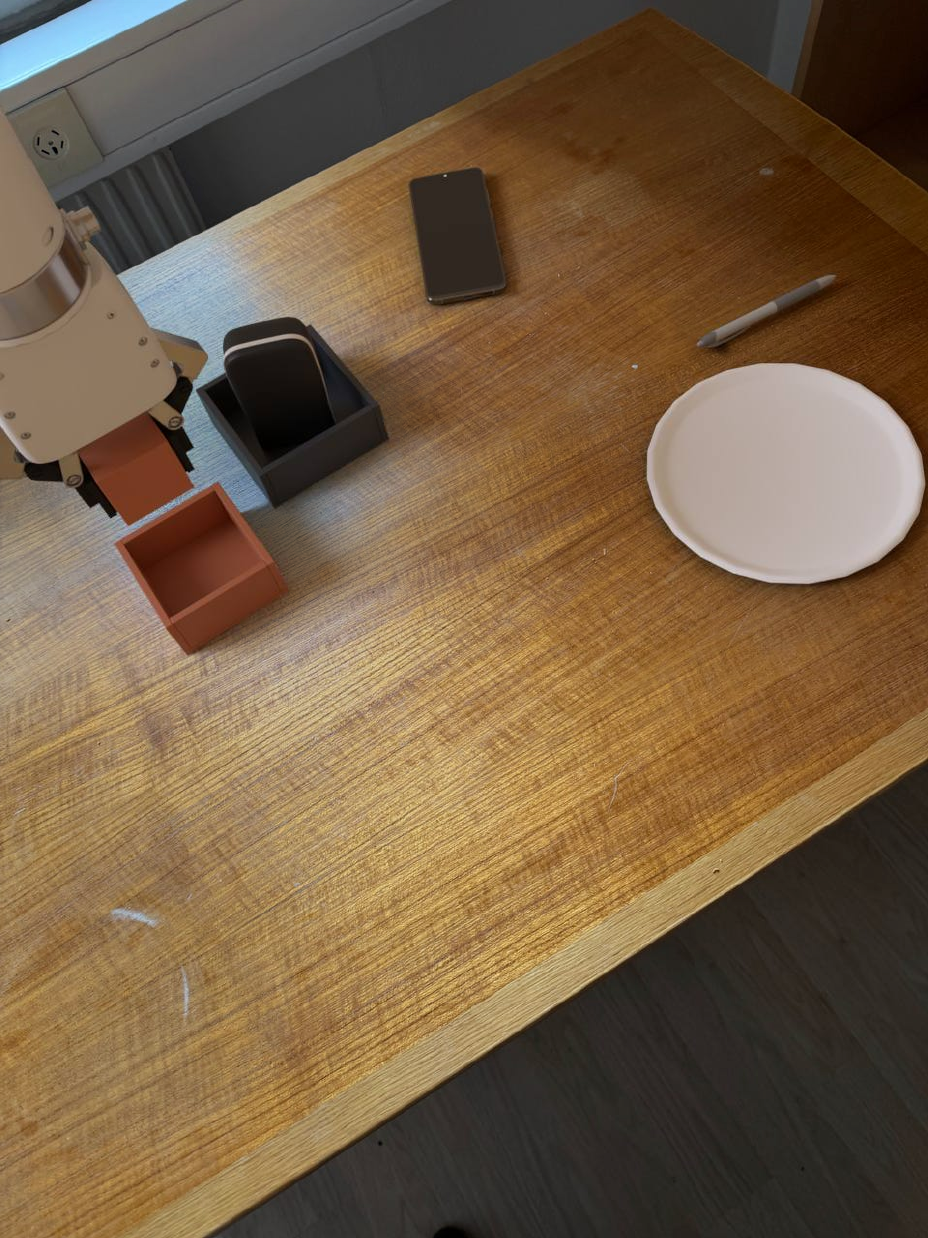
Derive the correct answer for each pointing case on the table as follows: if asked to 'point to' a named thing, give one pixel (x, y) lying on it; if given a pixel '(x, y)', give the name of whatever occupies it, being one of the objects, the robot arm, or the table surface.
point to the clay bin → (202, 567)
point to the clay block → (136, 468)
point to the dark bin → (311, 460)
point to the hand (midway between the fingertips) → (143, 478)
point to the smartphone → (456, 236)
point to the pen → (763, 312)
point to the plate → (785, 473)
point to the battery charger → (278, 381)
